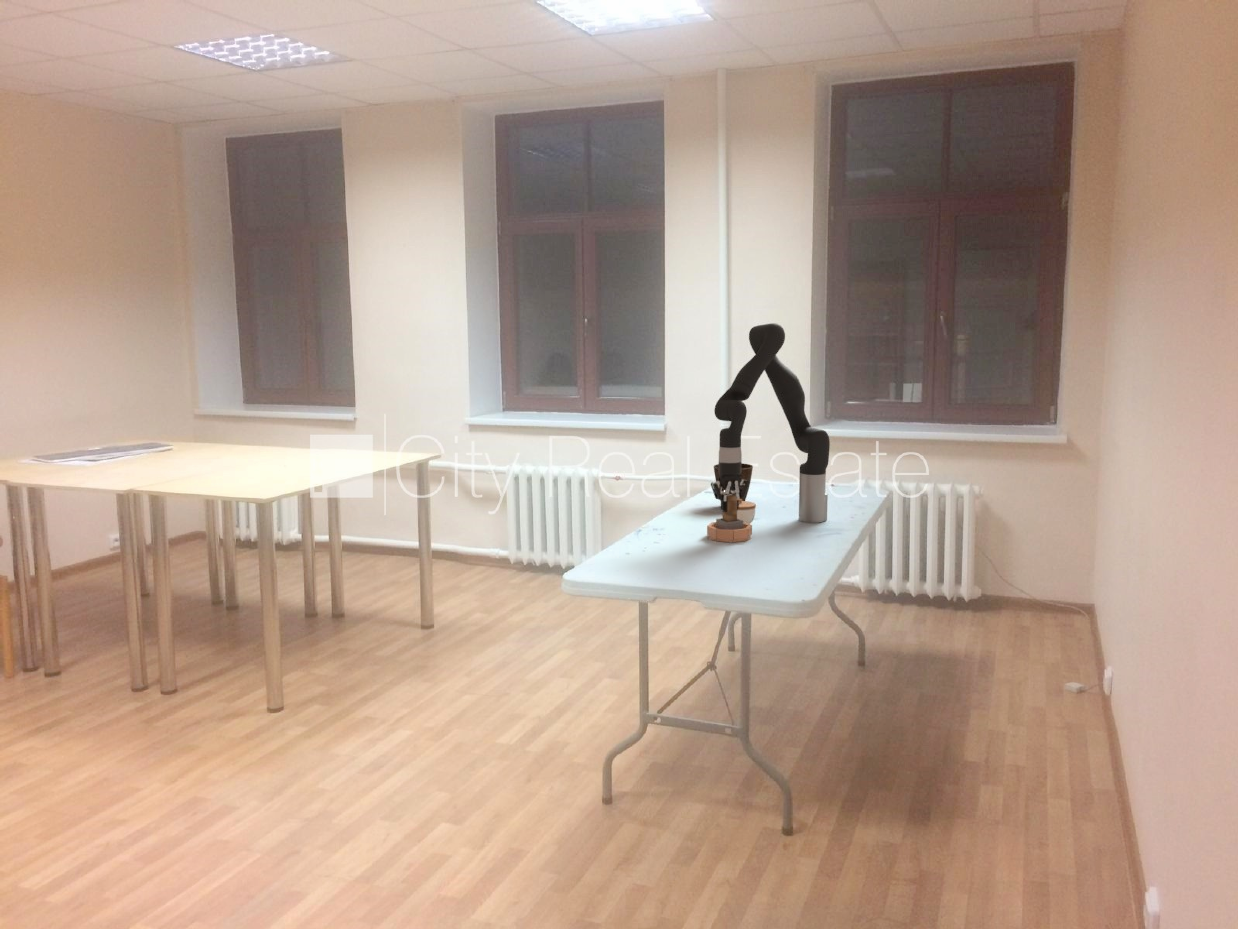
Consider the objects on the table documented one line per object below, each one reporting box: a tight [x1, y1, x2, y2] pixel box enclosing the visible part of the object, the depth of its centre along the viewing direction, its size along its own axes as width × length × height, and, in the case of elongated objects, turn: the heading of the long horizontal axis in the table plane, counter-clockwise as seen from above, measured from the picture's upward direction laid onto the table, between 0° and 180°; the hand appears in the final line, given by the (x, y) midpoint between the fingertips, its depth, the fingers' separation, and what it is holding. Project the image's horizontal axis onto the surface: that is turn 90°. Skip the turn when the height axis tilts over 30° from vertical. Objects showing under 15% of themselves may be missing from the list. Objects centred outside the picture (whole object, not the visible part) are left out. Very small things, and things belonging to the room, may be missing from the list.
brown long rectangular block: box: [721, 494, 737, 522], centre depth 322 cm, size 4×4×12 cm
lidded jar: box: [737, 499, 757, 525], centre depth 341 cm, size 11×11×9 cm
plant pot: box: [713, 462, 754, 501], centre depth 373 cm, size 15×15×16 cm
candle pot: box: [706, 517, 753, 543], centre depth 323 cm, size 14×14×6 cm
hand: (729, 511), depth 322 cm, fingers closed on brown long rectangular block, 3 cm apart
